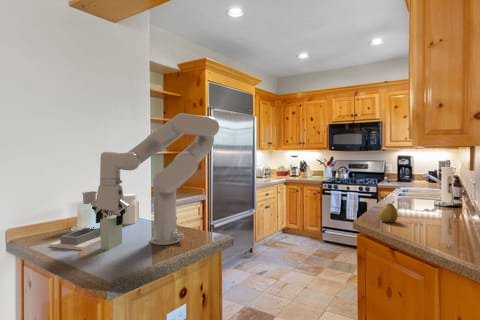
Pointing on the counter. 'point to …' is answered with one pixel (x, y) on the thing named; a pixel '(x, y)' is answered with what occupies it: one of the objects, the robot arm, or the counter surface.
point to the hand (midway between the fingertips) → (109, 223)
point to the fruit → (388, 213)
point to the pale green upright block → (110, 233)
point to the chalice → (89, 197)
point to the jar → (131, 209)
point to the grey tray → (79, 239)
